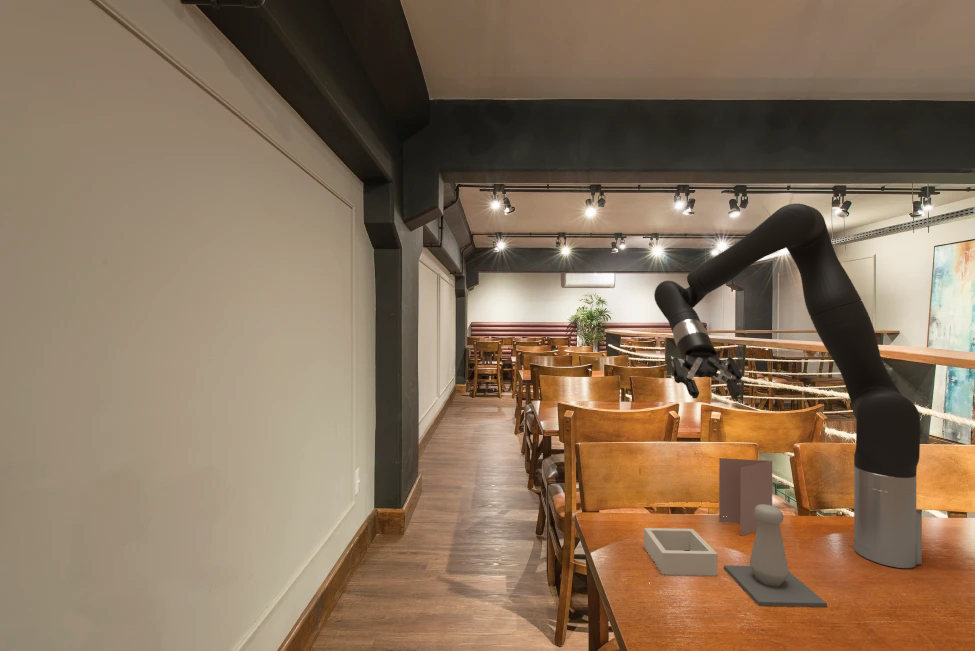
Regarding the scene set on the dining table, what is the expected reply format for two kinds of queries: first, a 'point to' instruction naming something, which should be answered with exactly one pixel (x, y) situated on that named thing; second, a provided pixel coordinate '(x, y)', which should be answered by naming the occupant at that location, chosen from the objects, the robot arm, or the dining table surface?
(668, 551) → the collar
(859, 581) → the dining table surface
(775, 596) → the mat
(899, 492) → the robot arm
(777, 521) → the salt shaker
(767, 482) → the greeting card
